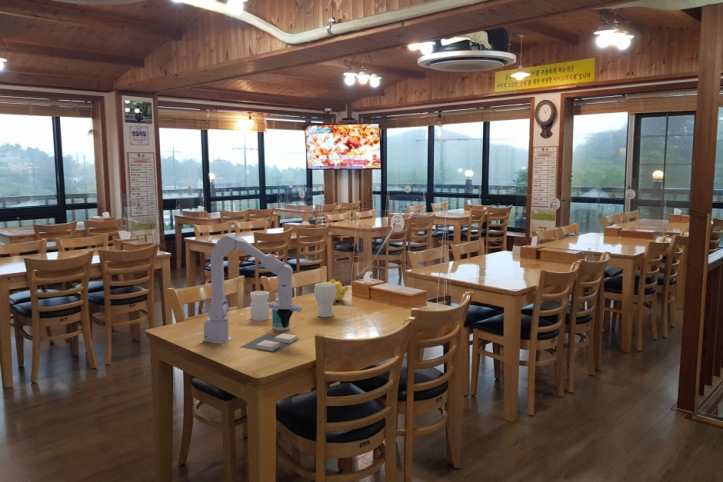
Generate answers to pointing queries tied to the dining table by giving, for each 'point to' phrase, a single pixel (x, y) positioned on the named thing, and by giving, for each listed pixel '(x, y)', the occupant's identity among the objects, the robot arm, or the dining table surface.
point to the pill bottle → (277, 320)
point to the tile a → (268, 345)
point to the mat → (269, 338)
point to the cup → (325, 298)
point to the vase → (259, 305)
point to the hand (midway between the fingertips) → (285, 327)
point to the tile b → (286, 338)
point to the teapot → (339, 290)
